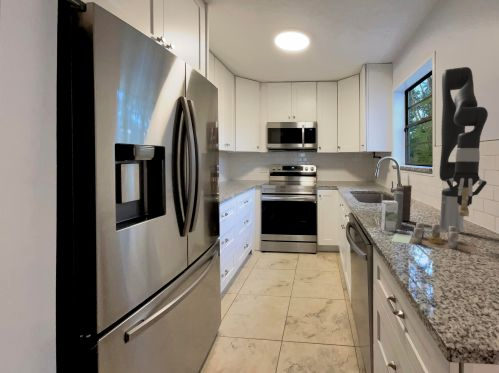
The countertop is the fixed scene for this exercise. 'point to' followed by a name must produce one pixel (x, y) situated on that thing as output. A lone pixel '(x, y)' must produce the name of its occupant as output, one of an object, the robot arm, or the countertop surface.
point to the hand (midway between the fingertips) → (464, 205)
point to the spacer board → (448, 244)
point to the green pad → (401, 238)
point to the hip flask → (399, 205)
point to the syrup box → (389, 215)
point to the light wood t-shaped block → (464, 202)
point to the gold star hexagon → (435, 239)
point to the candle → (406, 202)
